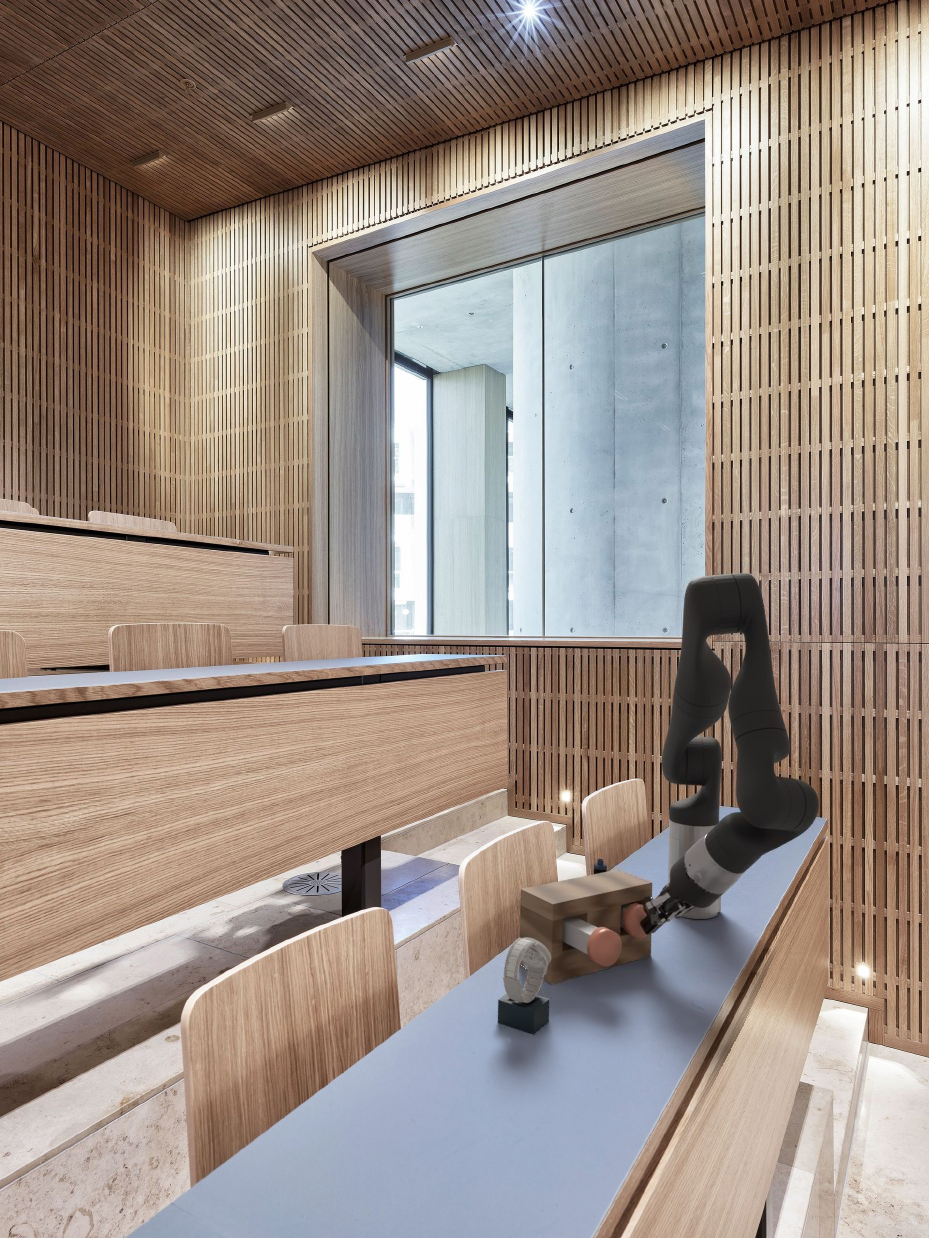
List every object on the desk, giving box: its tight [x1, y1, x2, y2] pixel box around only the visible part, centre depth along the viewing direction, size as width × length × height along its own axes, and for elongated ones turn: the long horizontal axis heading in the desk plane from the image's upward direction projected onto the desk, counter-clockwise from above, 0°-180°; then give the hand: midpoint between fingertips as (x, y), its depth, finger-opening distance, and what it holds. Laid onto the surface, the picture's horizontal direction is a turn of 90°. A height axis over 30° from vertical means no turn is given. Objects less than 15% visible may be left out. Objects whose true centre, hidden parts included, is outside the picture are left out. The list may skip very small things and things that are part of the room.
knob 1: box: [562, 916, 622, 967], centre depth 120 cm, size 5×10×5 cm, turn 33°
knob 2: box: [620, 903, 649, 939], centre depth 131 cm, size 5×10×5 cm, turn 33°
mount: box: [519, 869, 653, 985], centre depth 128 cm, size 21×8×12 cm, turn 123°
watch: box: [497, 937, 551, 1036], centre depth 108 cm, size 6×8×11 cm
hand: (646, 928), depth 126 cm, fingers closed
